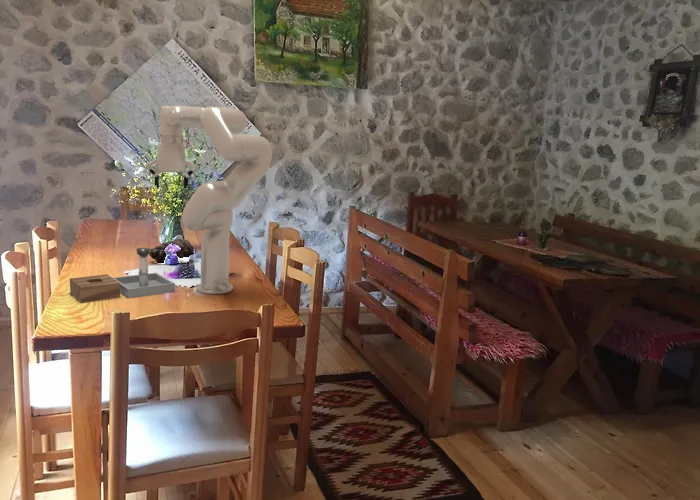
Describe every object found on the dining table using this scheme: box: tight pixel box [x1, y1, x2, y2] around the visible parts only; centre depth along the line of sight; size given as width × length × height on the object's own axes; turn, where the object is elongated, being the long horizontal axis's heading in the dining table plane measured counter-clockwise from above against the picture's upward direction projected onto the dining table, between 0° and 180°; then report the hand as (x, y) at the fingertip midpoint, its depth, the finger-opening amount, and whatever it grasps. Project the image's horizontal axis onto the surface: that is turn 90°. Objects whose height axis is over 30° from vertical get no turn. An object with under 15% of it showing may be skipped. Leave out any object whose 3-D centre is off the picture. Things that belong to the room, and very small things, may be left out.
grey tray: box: [112, 272, 176, 299], centre depth 202 cm, size 16×16×3 cm
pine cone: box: [148, 238, 195, 263], centre depth 240 cm, size 10×18×10 cm, turn 123°
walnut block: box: [69, 273, 121, 304], centre depth 192 cm, size 12×12×5 cm
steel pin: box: [136, 247, 151, 287], centre depth 201 cm, size 4×4×14 cm
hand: (171, 187), depth 215 cm, fingers open, 9 cm apart
